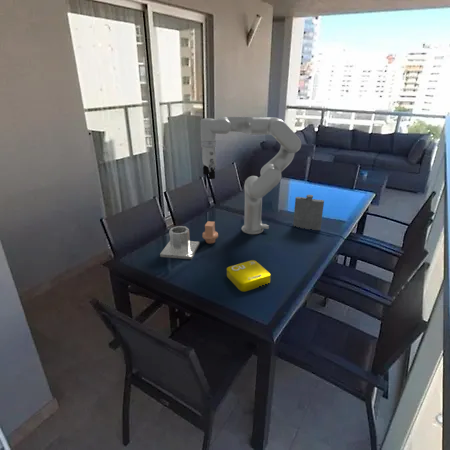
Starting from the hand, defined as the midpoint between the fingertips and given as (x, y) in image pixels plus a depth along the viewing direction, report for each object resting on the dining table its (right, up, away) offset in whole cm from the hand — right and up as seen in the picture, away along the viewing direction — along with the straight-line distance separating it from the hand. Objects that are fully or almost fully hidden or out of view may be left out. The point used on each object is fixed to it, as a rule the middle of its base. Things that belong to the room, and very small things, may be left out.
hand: (208, 176), depth 170 cm
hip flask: (+56, -28, +17) cm, 65 cm away
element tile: (+19, -50, -30) cm, 61 cm away
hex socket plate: (-14, -39, -6) cm, 42 cm away
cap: (+1, -35, +2) cm, 35 cm away
